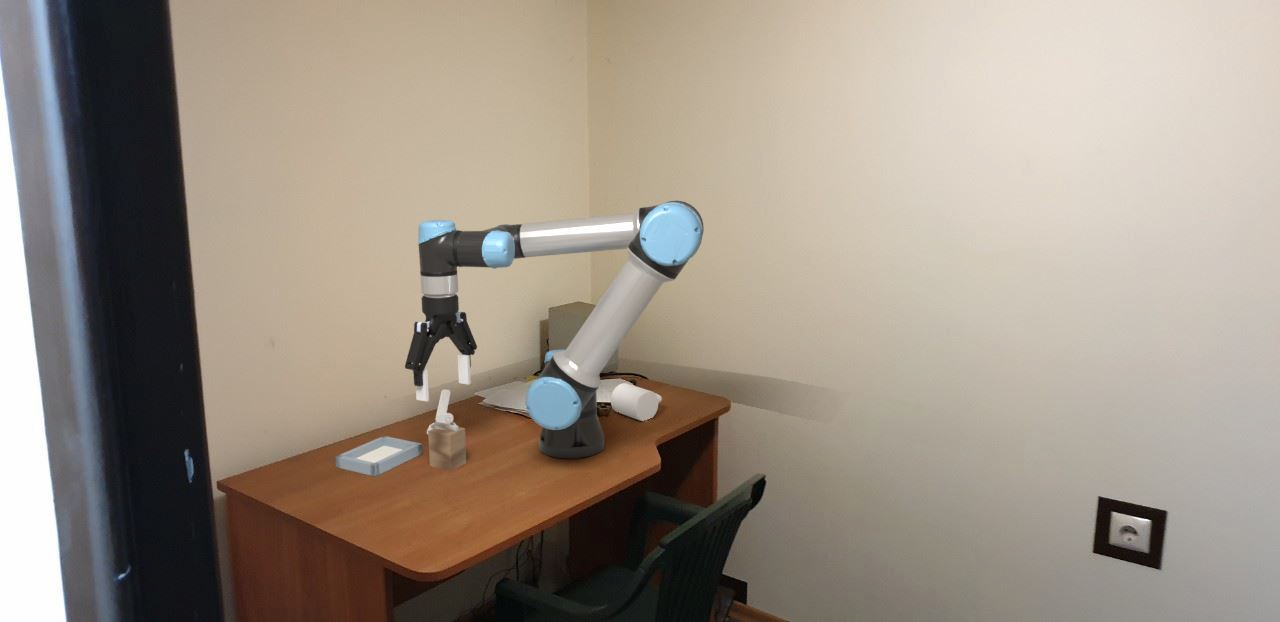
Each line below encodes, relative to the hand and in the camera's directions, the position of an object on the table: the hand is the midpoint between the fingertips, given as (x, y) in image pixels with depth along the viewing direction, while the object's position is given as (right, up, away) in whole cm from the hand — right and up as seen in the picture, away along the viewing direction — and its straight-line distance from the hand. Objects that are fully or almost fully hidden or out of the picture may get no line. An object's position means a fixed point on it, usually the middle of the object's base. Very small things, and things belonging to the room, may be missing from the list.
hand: (444, 391), depth 166 cm
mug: (+42, -10, +36) cm, 57 cm away
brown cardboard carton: (0, -16, +3) cm, 17 cm away
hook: (-6, -13, +24) cm, 28 cm away
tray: (-16, -16, +5) cm, 23 cm away
